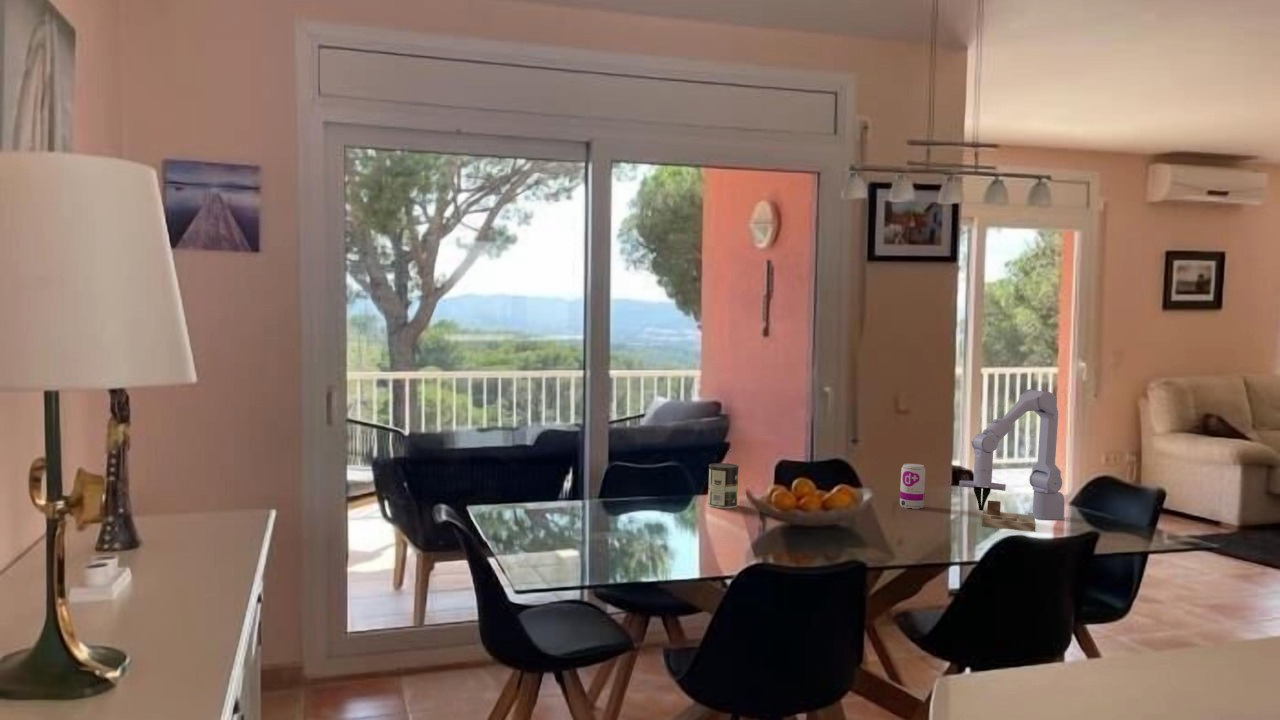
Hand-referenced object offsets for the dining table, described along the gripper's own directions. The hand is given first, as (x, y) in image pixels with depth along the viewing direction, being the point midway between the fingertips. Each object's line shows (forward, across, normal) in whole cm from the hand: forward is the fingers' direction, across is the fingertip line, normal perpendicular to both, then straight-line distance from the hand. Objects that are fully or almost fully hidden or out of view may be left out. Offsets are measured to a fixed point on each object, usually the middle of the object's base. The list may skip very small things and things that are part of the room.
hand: (981, 510), depth 320 cm
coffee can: (+3, -84, -21) cm, 86 cm away
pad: (+3, +14, 0) cm, 15 cm away
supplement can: (+4, -23, +10) cm, 26 cm away
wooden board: (+3, +9, -3) cm, 10 cm away
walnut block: (+1, +4, 0) cm, 4 cm away
